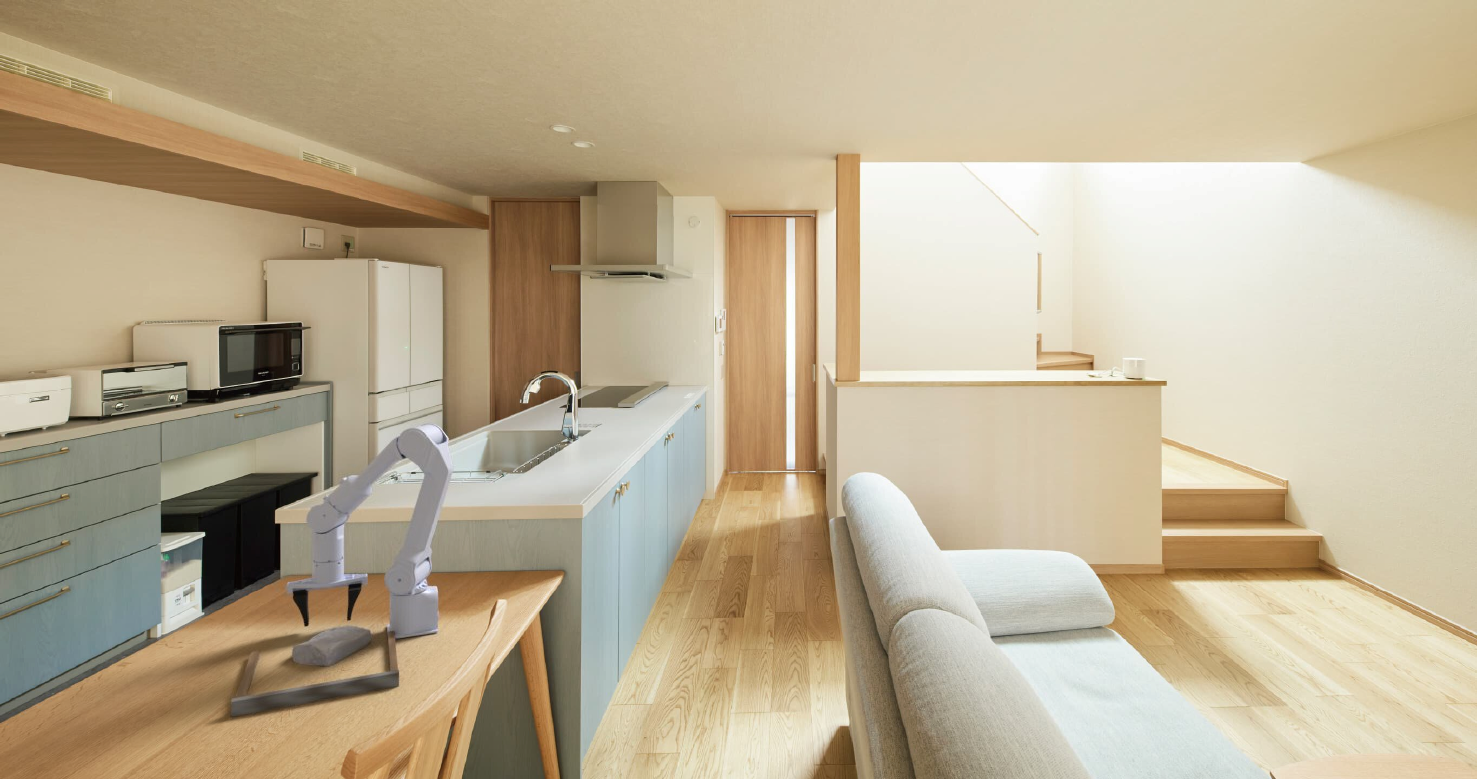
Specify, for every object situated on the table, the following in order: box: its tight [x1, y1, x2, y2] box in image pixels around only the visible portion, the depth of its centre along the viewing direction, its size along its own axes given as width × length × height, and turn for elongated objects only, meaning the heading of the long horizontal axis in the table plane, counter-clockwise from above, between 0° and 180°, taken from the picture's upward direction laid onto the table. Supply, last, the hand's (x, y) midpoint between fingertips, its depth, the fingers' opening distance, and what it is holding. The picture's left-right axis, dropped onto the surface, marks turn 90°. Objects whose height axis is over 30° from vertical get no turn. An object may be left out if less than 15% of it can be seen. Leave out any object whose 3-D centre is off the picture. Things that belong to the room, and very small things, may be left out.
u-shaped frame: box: [230, 631, 400, 718], centre depth 126 cm, size 24×23×2 cm
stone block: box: [291, 624, 373, 668], centre depth 135 cm, size 12×5×10 cm
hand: (328, 621), depth 144 cm, fingers open, 7 cm apart
